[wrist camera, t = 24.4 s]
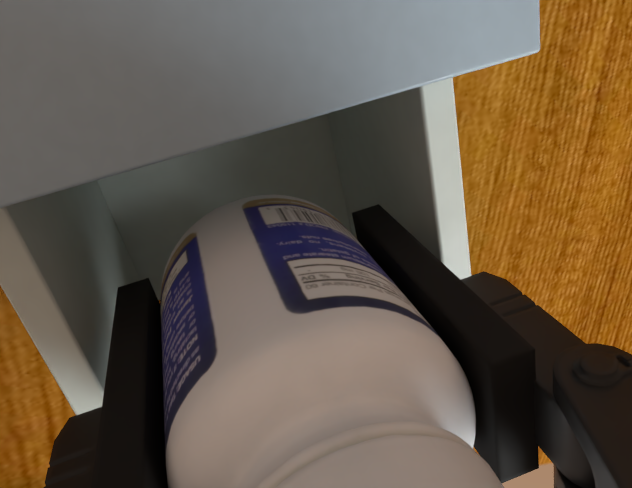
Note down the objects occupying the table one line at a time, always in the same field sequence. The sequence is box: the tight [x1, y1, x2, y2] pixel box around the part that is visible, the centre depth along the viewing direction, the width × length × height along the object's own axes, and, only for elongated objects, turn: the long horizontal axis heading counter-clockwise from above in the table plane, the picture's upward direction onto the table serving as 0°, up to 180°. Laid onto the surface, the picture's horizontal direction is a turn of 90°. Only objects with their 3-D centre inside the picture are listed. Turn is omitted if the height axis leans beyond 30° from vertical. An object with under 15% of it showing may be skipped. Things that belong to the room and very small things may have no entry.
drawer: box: [0, 77, 471, 415], centre depth 17 cm, size 19×11×10 cm, turn 13°
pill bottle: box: [160, 195, 504, 488], centre depth 10 cm, size 5×5×9 cm
